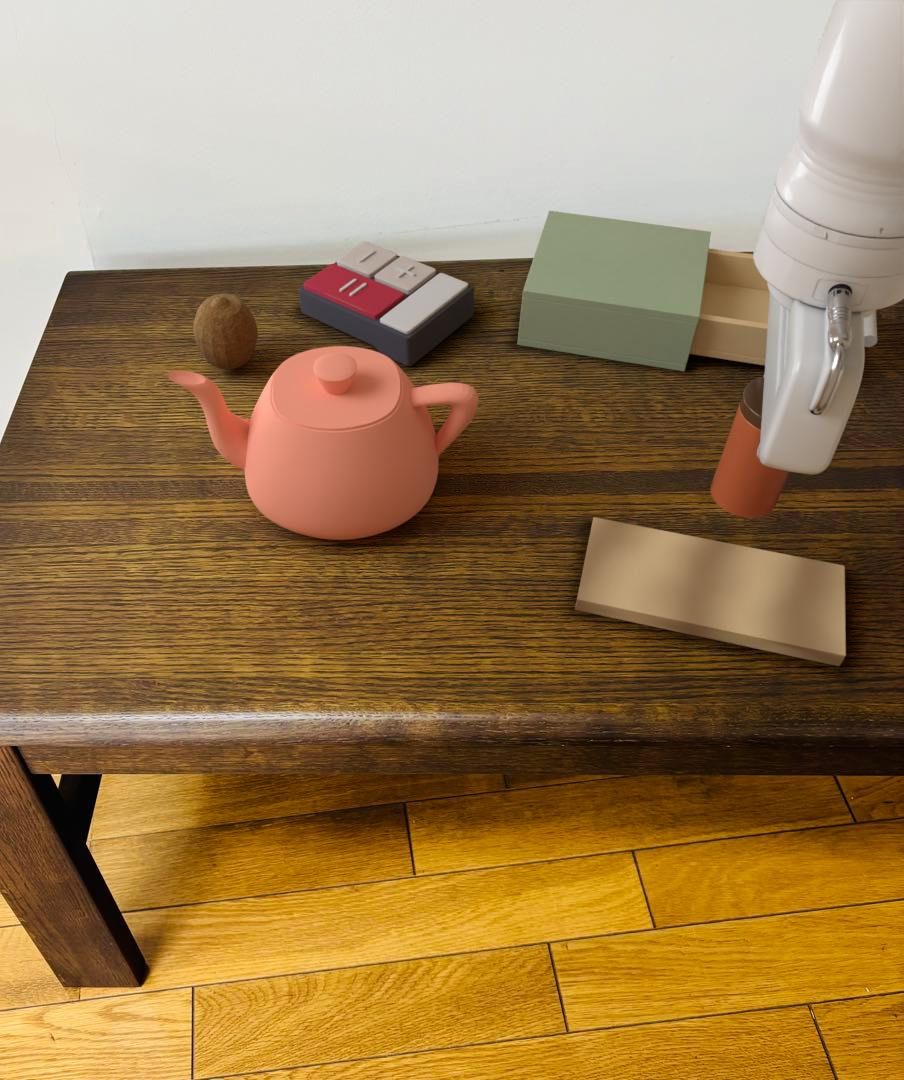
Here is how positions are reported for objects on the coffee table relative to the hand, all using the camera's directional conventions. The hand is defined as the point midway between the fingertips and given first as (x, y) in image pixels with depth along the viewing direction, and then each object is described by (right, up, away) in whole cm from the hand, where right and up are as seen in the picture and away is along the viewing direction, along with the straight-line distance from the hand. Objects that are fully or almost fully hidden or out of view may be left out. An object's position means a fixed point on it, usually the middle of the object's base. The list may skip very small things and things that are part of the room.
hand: (771, 423), depth 66 cm
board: (+1, -12, +14) cm, 19 cm away
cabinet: (-1, +16, +38) cm, 41 cm away
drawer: (+13, +13, +34) cm, 39 cm away
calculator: (-25, +16, +39) cm, 49 cm away
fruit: (-41, +10, +35) cm, 54 cm away
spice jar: (0, -5, +5) cm, 7 cm away
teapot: (-30, -3, +24) cm, 38 cm away
